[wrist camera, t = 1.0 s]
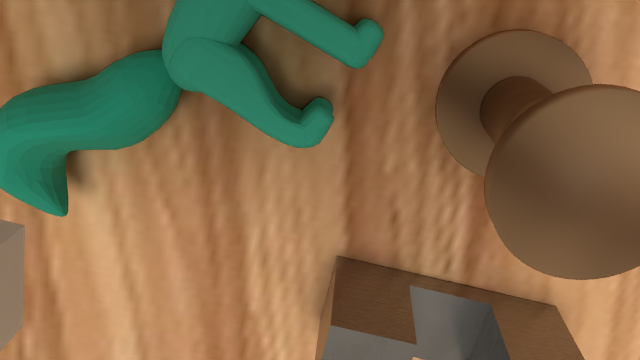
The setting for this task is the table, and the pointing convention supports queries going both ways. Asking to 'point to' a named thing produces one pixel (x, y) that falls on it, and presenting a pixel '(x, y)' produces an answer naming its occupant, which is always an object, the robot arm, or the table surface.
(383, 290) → the metal block
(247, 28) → the toy
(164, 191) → the table surface
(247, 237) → the table surface
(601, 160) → the bobbin
